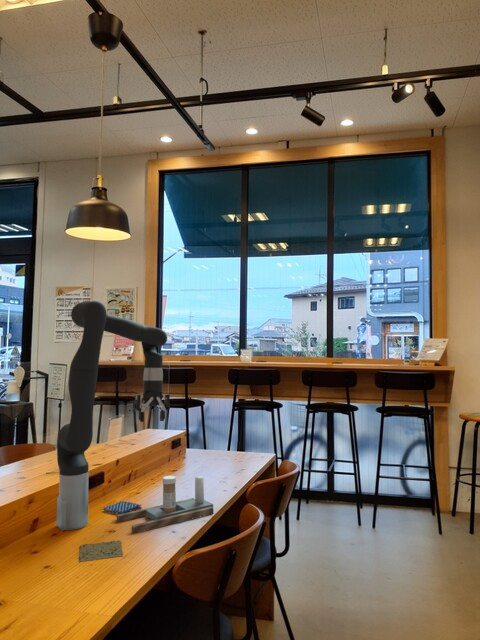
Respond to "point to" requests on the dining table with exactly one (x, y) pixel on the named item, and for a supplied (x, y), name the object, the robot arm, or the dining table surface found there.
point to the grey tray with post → (184, 503)
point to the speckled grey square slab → (100, 551)
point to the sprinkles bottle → (169, 494)
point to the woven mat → (122, 507)
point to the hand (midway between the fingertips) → (152, 421)
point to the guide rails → (161, 521)
